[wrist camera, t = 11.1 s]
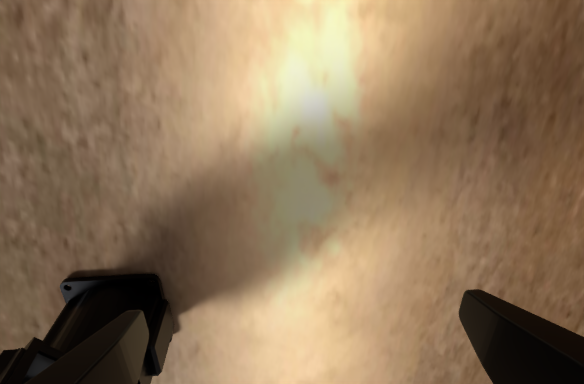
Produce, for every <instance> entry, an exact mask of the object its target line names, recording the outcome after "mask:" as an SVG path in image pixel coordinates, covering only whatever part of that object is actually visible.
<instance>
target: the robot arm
mask: <svg viewBox="0 0 584 384" xmlns="http://www.w3.org/2000/svg"><path fill="white" fill-rule="evenodd" d="M149 280H152V281H154V282H151V281H149ZM68 285H69V286H68ZM70 286H71V287H70ZM60 289H61V292H62V294H63V297H64V299H65V302H66V305H65V307H64V308H63V310H62V311H61V313H60V315H59V316H58V318H57V319H56V321H55V322H54V324H53V326H52V327H51V329H50V330H49V332H48V333H47V335H46V336H45V338H44V340H43V341H42V340H40V339H37V338H35V337H34V338H33V339H32V340H31V341H30V342H29V343H28V344H27V345H26V347H25V348H21V349H20V348H18V349H15V350H4V351H3V352H2V353H1V354H0V384H150V383H151V380H152V376H158V375H159V374H160V373H161V372H162V369H163V365H164V362H165V358H166V354H167V350H168V347H169V343H170V342H171V340H172V336H173V334H172V332H173V328H174V323H173V319H172V314H171V310H170V305H169V302H168V301H167V300H166V299H164V294H163V290H162V286H161V281H160V278H159V276H158V275H156V274H134V275H116V276H98V277H80V278H67V279H65V280H63V282H62V283H61V285H60ZM459 318H460V321H461V323H462V325H463V327H464V329H465V332H466V334H467V336H468V338H469V340H470V342H471V344H472V346H473V348H474V350H475V352H476V354H477V356H478V358H479V360H480V362H481V364H482V366H483V368H484V369H485V371H486V373H487V374H488V376H489V378H490V379H491V381H492V382H493V384H584V337H583V336H580V335H578V334H576V333H574V332H572V331H570V330H567V329H565V328H563V327H561V326H559V325H556V324H554V323H552V322H550V321H548V320H546V319H543V318H541V317H539V316H537V315H535V314H532V313H530V312H528V311H526V310H524V309H522V308H519V307H517V306H515V305H513V304H511V303H509V302H506V301H504V300H502V299H500V298H498V297H495V296H493V295H491V294H489V293H487V292H485V291H482V290H479V289H474V290H466V291H465V292H464V294H463V298H462V301H461V305H460V308H459Z"/></svg>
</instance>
